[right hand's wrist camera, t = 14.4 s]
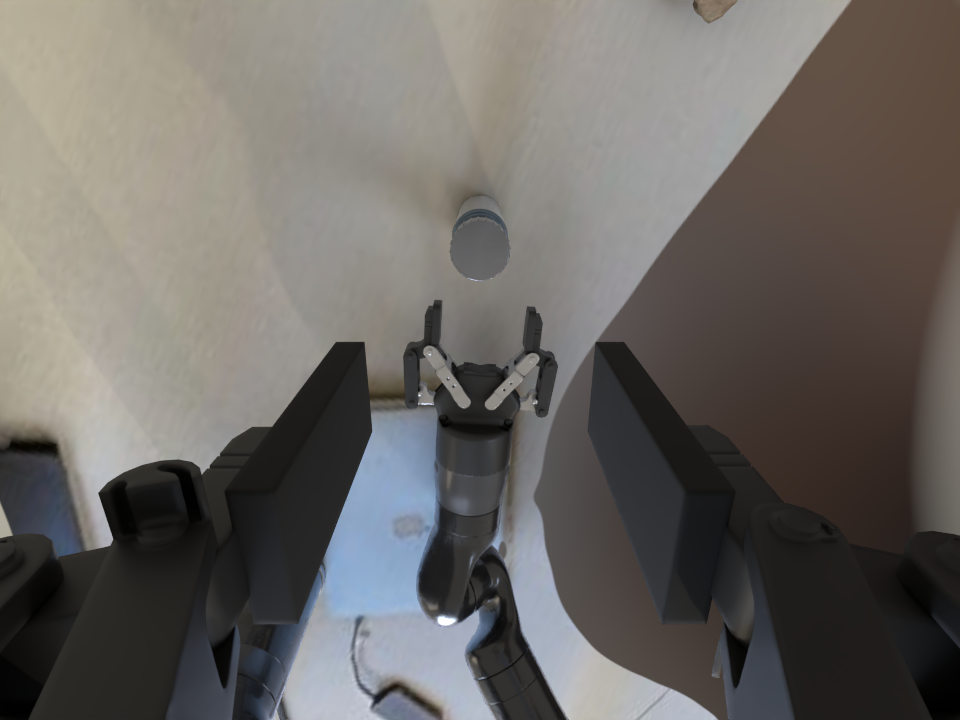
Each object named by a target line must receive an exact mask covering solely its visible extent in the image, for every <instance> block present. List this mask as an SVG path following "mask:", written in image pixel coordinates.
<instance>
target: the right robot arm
mask: <svg viewBox="0 0 960 720" xmlns="http://www.w3.org/2000/svg"><path fill="white" fill-rule="evenodd" d="M371 433H372V423H371V411H370V400H369V389H368V377H367V366H366V355H365V344H364V342H336V343H335V344H334V345H333V347H332V348H331V349H330V351H329V352H328V353H327V355H326V356H325V357H324V359H323V360H322V361H321V363H320V364H319V365H318V367H317V368H316V369H315V371H314V372H313V373H312V375H311V376H310V377H309V379H308V380H307V381H306V383H305V384H304V385H303V387H302V388H301V389H300V391H299V392H298V393H297V395H296V396H295V397H294V399H293V400H292V401H291V403H290V404H289V405H288V407H287V408H286V409H285V411H284V412H283V413H282V415H281V416H280V417H279V419H278V420H277V421H276V423H275V424H274V425H273V427H252V428H250V429H248V430H247V431H245V432H243V433H242V434H240V435H239V436H237V437H235V438H234V439H232V440H231V442H230V443H229V444H228V445H227V446H226V447H225V448H224V450H223V451H222V452H221V453H220V456H218V457H217V458H216V459H215V460H214V461H213V462H212V464H211V465H210V469H206V471H205V472H204V473H203V474H202V475H201V471H200V468H199V467H198V466H197V465H195V464H194V463H192V462H189V461H183V460H165V461H158V462H154V463H149V464H145V465H141V466H139V467H136V468H134V469H131V470H129V471H127V472H124V473H122V474H121V475H119V476H117V477H116V478H114V479H113V480H111V481H110V482H108V483H107V484H106V485H105V486H104V487H103V488H102V490H101V491H100V492H99V493H98V494H99V497H100V500H101V503H102V506H103V509H104V512H105V515H106V518H107V521H108V524H109V527H110V530H111V533H112V536H113V541H112V544H111V546H108V547H104V548H99V549H95V550H90V551H85V552H80V553H75V554H70V555H66V556H61V557H58V555H57V552H56V550H55V547H54V545H53V542H52V540H50V539H49V538H47V537H46V536H44V535H40V534H29V533H28V534H21V535H15V536H8V537H4V538H0V720H232V714H233V705H234V696H235V688H236V679H237V670H238V662H239V653H240V644H241V643H240V637H239V631H238V627H237V620H238V618H239V616H240V614H241V612H242V610H243V609H244V607H245V605H246V603H247V601H249V606H250V610H251V615H252V619H253V624H298V623H299V621H300V618H301V615H302V613H303V610H304V608H305V605H306V602H307V600H308V597H309V595H310V592H311V589H312V587H313V584H314V582H315V579H316V576H317V574H318V571H319V568H320V566H321V563H322V561H323V558H324V555H325V553H326V550H327V548H328V545H329V542H330V540H331V537H332V535H333V532H334V529H335V527H336V524H337V522H338V519H339V516H340V514H341V511H342V509H343V506H344V503H345V501H346V498H347V496H348V493H349V490H350V488H351V485H352V483H353V480H354V477H355V475H356V472H357V470H358V467H359V464H360V462H361V459H362V457H363V454H364V451H365V449H366V446H367V444H368V441H369V438H370V436H371ZM588 433H589V436H590V438H591V441H592V444H593V446H594V449H595V451H596V454H597V456H598V459H599V462H600V464H601V467H602V470H603V472H604V475H605V477H606V480H607V483H608V485H609V488H610V490H611V493H612V496H613V498H614V501H615V503H616V506H617V509H618V511H619V514H620V516H621V519H622V522H623V524H624V527H625V529H626V532H627V535H628V537H629V540H630V542H631V545H632V548H633V550H634V553H635V555H636V558H637V561H638V563H639V566H640V568H641V571H642V573H643V576H644V579H645V582H646V584H647V587H648V589H649V592H650V595H651V597H652V600H653V602H654V605H655V607H656V610H657V613H658V615H659V618H660V621H661V623H662V624H707V619H708V615H709V610H710V606H711V601H712V598H713V600H714V602H715V604H716V606H717V608H718V610H719V612H720V614H721V615H722V617H723V619H724V622H723V627H722V631H721V635H720V639H719V643H718V648H717V652H716V656H715V660H714V665H713V671H712V676H713V677H717V678H719V675H720V672H721V668H722V669H723V677H724V686H725V695H726V704H727V712H728V720H960V536H959V535H955V534H948V533H942V532H936V531H928V532H918V533H916V534H915V535H913V536H912V537H910V538H909V540H908V542H907V545H906V547H905V550H904V552H903V555H901V554H896V553H891V552H886V551H882V550H877V549H872V548H867V547H862V546H857V545H854V544H850V543H848V541H847V539H846V537H845V536H844V535H843V533H842V532H841V531H840V529H839V528H838V527H837V526H836V525H834V524H833V523H831V522H830V521H829V520H827V519H826V518H824V517H823V516H821V515H819V514H817V513H815V512H813V511H810V510H808V509H806V508H803V507H799V506H795V505H792V504H788V503H784V502H783V501H782V500H781V498H780V497H779V496H778V495H777V494H776V493H775V491H774V490H773V489H772V488H771V487H770V486H769V485H768V483H767V482H766V481H765V480H764V479H763V478H762V476H761V475H760V474H759V473H758V472H757V471H756V469H755V468H754V467H751V465H750V462H749V461H748V460H747V459H746V458H745V457H744V456H743V455H740V451H739V450H738V449H737V447H736V446H735V445H734V444H733V443H732V442H731V440H730V439H729V438H728V437H726V436H725V435H723V434H721V433H720V432H718V431H716V430H715V429H713V428H711V427H710V426H708V425H686V424H685V423H684V421H683V420H682V419H681V417H680V416H679V415H678V413H677V412H676V411H675V409H674V408H673V407H672V405H671V404H670V403H669V401H668V400H667V399H666V397H665V396H664V395H663V393H662V392H661V391H660V389H659V388H658V387H657V385H656V384H655V383H654V381H653V380H652V379H651V377H650V376H649V375H648V373H647V372H646V371H645V369H644V368H643V367H642V365H641V364H640V363H639V361H638V360H637V359H636V357H635V356H634V355H633V353H632V352H631V351H630V349H629V348H628V347H627V345H626V344H625V343H624V342H596V344H595V355H594V367H593V378H592V389H591V400H590V411H589V423H588Z"/></svg>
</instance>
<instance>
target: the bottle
mask: <svg viewBox="0 0 960 720" xmlns="http://www.w3.org/2000/svg"><path fill="white" fill-rule="evenodd" d="M478 216H479V217H484V218H485V217H487V218H488V219H491V220H494V221H495V222H496V223H498V224H500V226H501V227H502V228H503V230H505V232H506V236H507V237H508V232H507V228H506V225H505V222H504V219H503V216H502V213H501V211H500V208H499V206H498V205H497V203H496V202H495V201H494V200H493V199H491V198H489V197H487V196H482V195H478V196H473V197H471V198H469V199H468V200H466V201H465V202H464V203H463V205H462V206H461V208H460V210H459V213H458V216H457V219H456V222H455V225H454V228H453V232H452V239H453V233H455V232H456V230H457V227H458V226H460V225H461V224H462V223H463V222H464V221H467V220H469V219H470V218H476V217H478Z"/></svg>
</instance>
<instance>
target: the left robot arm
mask: <svg viewBox="0 0 960 720" xmlns="http://www.w3.org/2000/svg"><path fill="white" fill-rule="evenodd" d="M441 317H442V300H434V304H433V306H429V307H428V309H427V311H426V314H425V332H424V339H423V340H422V341H420V342H416V343H415V342H410V343H409V344H408V345H407V347H406V350H405V353H404V356H403V358H404V382H405V404H406V406H407V407H408V408H409V409H415V408H416V407H417V406H418V404H434V405H435V407H436V409H437V412H438V421H437V440H436V458H435V462H434V468H435V485H436V505H435V523H434V526H433V529H432V531H431V533H430V535H429V538H428V541H427V544H426V547H425V550H424V553H423V555H422V558H421V561H420V565H419V569H418V573H417V579H416V590H417V597H418V601H419V604H420V607H421V609H422V611H423V613H424V614H425V615H426V617H427V618H428V619H429V620H430V621H431V622H433V623H434V624H436V625H438V626H441V627H452V626H456V625H458V624H460V623H462V622H463V621H464V620H466V619H467V618H468V617H470V616H471V615H472V614H473V613H475V612H476V611H477V610H479V626H478V628H477V630H476V632H475V634H474V635H473V637H472V638H471V640H470V641H469V643H468V644H467V646H466V649H465V659H466V662H467V665H468V667H469V669H470V672H471V674H472V676H473V677H474V680H475V682H476V684H477V686H478V688H479V690H480V693H481V695H482V697H483V699H484V701H485V703H486V705H487V707H488V709H489V711H490V713H491V715H492V717H493V719H494V720H569V719H568V718H567V716H566V714H565V713H564V711H563V709H562V707H561V705H560V704H559V702H558V700H557V698H556V696H555V694H554V693H553V691H552V689H551V687H550V685H549V683H548V681H547V679H546V677H545V675H544V673H543V671H542V669H541V667H540V665H539V663H538V661H537V659H536V657H535V655H534V653H533V651H532V649H531V647H530V645H529V643H528V641H527V639H526V637H525V635H524V633H523V631H522V627H521V623H520V619H519V614H518V610H517V606H516V602H515V598H514V593H513V589H512V585H511V580H510V577H509V573H508V570H507V567H506V564H505V562H504V560H503V558H502V556H501V555H500V553H499V552H498V551H497V550H496V548H495V547H494V546H493V545H492V543H493V542H494V540H495V538H496V536H497V533H498V529H499V522H500V514H501V505H502V497H503V493H504V489H505V486H506V481H507V476H508V473H509V457H510V448H511V439H512V431H513V422H514V418H515V416H516V414H517V413H518V411H519V410H522V411H530V412H536V415H537V416H538V417H545V416H546V415H547V414H548V410H549V406H550V401H551V396H552V392H553V387H554V382H555V378H556V373H557V368H558V365H557V362H556V361H555V357H554V354H553V353H552V352H550V351H547V352H546V351H544V350H542V349H540V348H539V347H540V340H541V332H542V324H543V323H542V320H541V317H540V314H539V313H536V309H535V307H529V306H527V310H526V318H525V327H524V335H523V346H524V348H523V349H522V350H521V351H520V352H519V353H518V354H517V355H516V356H515V357H514V358H512V359H510V360H509V361H508V362H507V363H506V364H505V365H504V366H503V367H502V368H501V369H500V368H499V367H496V364H485V365H477V364H474V363H468V362H464V364H462V365H459V366H457V364H456V363H455V361H454V360H453V359H452V357H451V356H450V355H449V354H448V353H447V352H446V351H445V350H444V348H443V347H442V346H441V344H440V343H439V342H440V336H441ZM422 358H427V359H428V361H429V362H430V363H431V365H432V366H433V367H434V369H435V372H436V374H437V376H438V377H439V378H440V380H441V381H442V383H441V384H440V386H439V387H438V388H437V389H436V390H435V392H432V391H430V390H429V389H428V385H427V383H426V382H424V381H420V359H422ZM535 365H537V366H539V367H540V368H539V373H538V379H537V384H536V389H531V390H530V391H529V392H528V394H527V396H526V397H524V398H520V396H519V394H518V393H517V391H516V389H515V388H516V387H517V386H518V385H519V384H520V383H521V382H522V381H523V379H524V377H525V375H526V374H527V373H528V372H529V371H530V370H531V369H532V368H533V367H534V366H535ZM324 581H325V570H324V567H323V565H322V563H321V566H320V568H319V571H318V574H317V576H316V579H315V582H314V584H313V587H312V589H311V592H310V595H309V597H308V600H307V602H306V605H305V608H304V610H303V613H302V615H301V618H300V621H299V623H298V624H253V619H252V615H251V610H250V606H249V601H247V603H246V605H245V607H244V609H243V610H242V612H241V614H240V616H239V618H238V620H237V627H238V631H239V637H240V643H241V644H240V653H239V662H238V670H237V679H236V688H235V696H234V705H233V714H232V720H274V717H275V714H276V711H278V714H279V718H280V720H286V716H285V713H284V709H283V706H282V703H281V697H282V695H283V692H284V689H285V686H286V683H287V680H288V678H289V675H290V672H291V669H292V667H293V664H294V661H295V658H296V656H297V653H298V650H299V647H300V645H301V642H302V639H303V636H304V634H305V631H306V628H307V625H308V623H309V620H310V617H311V614H312V612H313V609H314V607H315V604H316V601H317V598H318V596H319V593H320V592H321V590H322V587H323V584H324Z"/></svg>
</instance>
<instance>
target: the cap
mask: <svg viewBox="0 0 960 720" xmlns="http://www.w3.org/2000/svg"><path fill="white" fill-rule="evenodd" d="M450 245H451V247H450V255H451V260H452V262H453V265H454V266H455V268H456V269H457V270H458V272H459V273H460V274H462V275H463V276H465V277H466V278H469V279H471V280H476V281H484V280H489V279H491V278H494V277H495V276H497V275H498V274H499V273H501V272H502V270H503V269H504V268H505V266H506V265H507V262H508V259H509V257H510V245H509V239H508V237H507V236H506V232H505V230H503V228H502V227H501V226H500V224H498V223H496V222H495V221H494V220H491V219H488V218H487V217H485V218H484V217H479V216H478V217H476V218H470V219H469V220H467V221H464V222H463V223H462V224H461V225H460V226H458V227H457V230H456V232H455V233H453V239H452V240H451V243H450Z"/></svg>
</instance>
